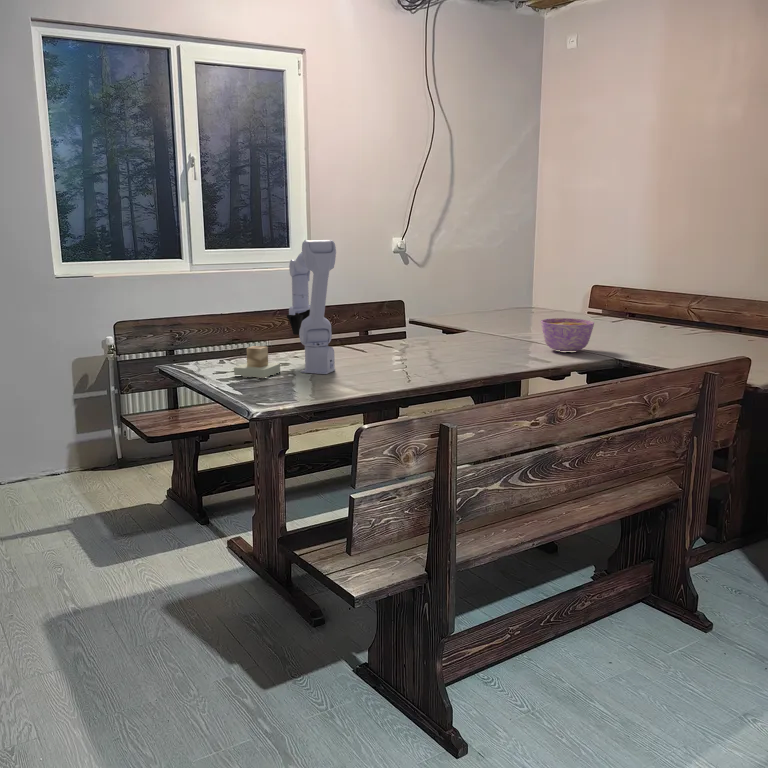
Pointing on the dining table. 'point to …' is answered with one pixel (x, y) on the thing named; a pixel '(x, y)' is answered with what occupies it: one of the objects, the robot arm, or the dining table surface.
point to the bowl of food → (567, 333)
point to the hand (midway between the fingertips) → (301, 333)
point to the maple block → (257, 356)
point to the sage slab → (257, 370)
